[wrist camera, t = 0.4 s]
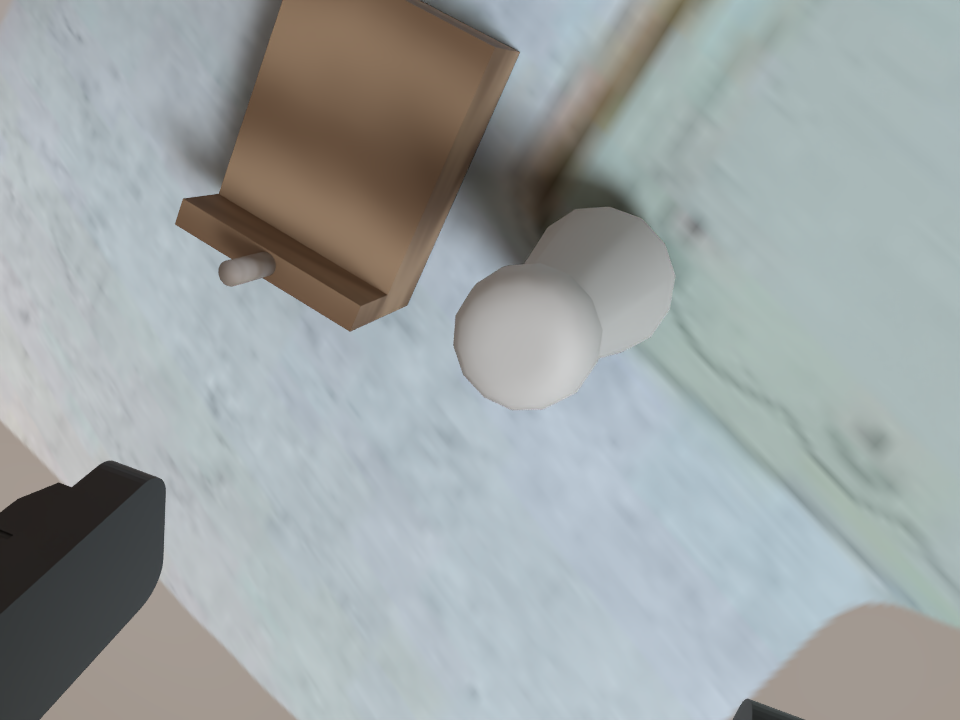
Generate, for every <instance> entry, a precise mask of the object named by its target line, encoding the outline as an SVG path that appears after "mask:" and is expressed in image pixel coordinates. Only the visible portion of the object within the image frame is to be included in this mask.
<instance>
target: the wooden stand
mask: <svg viewBox="0 0 960 720" xmlns="http://www.w3.org/2000/svg"><path fill="white" fill-rule="evenodd" d="M519 53H520V52H518V51H516V50H514V49H512V48H511V47H509V46H507V45H505V44H503V43H501V42H499V41H497V40H495V39H493V38H491V37H489V36H487V35H486V34H484V33H482V32H480V31H478V30H476V29H474V28H472V27H470V26H468V25H466V24H464V23H462V22H460V21H459V20H457V19H455V18H453V17H451V16H449V15H447V14H445V13H443V12H441V11H439V10H437V9H435V8H433V7H432V6H430V5H428V4H426V3H424V2H422V1H420V0H283V1H282V4H281V7H280V10H279V13H278V16H277V19H276V22H275V25H274V28H273V31H272V34H271V37H270V40H269V43H268V46H267V49H266V52H265V55H264V58H263V61H262V64H261V67H260V70H259V73H258V76H257V79H256V83H255V86H254V89H253V92H252V95H251V98H250V101H249V104H248V107H247V110H246V113H245V116H244V119H243V122H242V125H241V128H240V131H239V134H238V137H237V140H236V143H235V146H234V149H233V152H232V155H231V158H230V161H229V164H228V168H227V171H226V174H225V177H224V180H223V183H222V186H221V189H220V192H219V194H215V195H207V196H199V197H192V198H184V199H183V201H182V204H181V207H180V210H179V213H178V216H177V220H176V223H175V225H177V226H179V227H180V228H182V229H184V230H185V231H187V232H188V233H190V234H192V235H193V236H195V237H197V238H198V239H200V240H201V241H203V242H205V243H206V244H208V245H210V246H211V247H213V248H215V249H216V250H218V251H219V252H221V253H223V254H224V255H226V256H228V257H229V258H231V260H227V261H224V262H222V263H221V265H220V267H219V277H220V279H221V281H222V282H223V283H224V284H225V285H227V286H236V285H239V284H243V283H246V282H250V281H253V280H257V279H260V278H263V279H265V280H267V281H268V282H270V283H272V284H273V285H275V286H276V287H278V288H280V289H281V290H283V291H285V292H286V293H288V294H290V295H291V296H293V297H294V298H296V299H298V300H299V301H301V302H303V303H304V304H306V305H307V306H309V307H311V308H312V309H314V310H316V311H317V312H319V313H320V314H322V315H324V316H325V317H327V318H329V319H330V320H332V321H334V322H335V323H337V324H338V325H340V326H342V327H343V328H345V329H347V330H348V331H353V330H355V329H357V328H359V327H361V326H363V325H366V324H368V323H370V322H372V321H374V320H377V319H379V318H381V317H383V316H385V315H387V314H390V313H392V312H394V311H396V310H398V309H400V308H403V307H405V306H407V305H408V302H409V300H410V298H411V296H412V294H413V291H414V289H415V287H416V285H417V282H418V280H419V278H420V276H421V273H422V271H423V269H424V267H425V264H426V262H427V260H428V258H429V255H430V253H431V251H432V249H433V246H434V244H435V242H436V240H437V237H438V235H439V233H440V231H441V228H442V226H443V224H444V222H445V219H446V217H447V215H448V213H449V210H450V208H451V206H452V204H453V202H454V199H455V197H456V195H457V193H458V190H459V188H460V186H461V184H462V181H463V179H464V177H465V175H466V172H467V170H468V168H469V166H470V163H471V161H472V159H473V157H474V154H475V152H476V150H477V148H478V145H479V143H480V141H481V139H482V136H483V134H484V132H485V130H486V127H487V125H488V123H489V121H490V118H491V116H492V114H493V112H494V110H495V107H496V105H497V103H498V101H499V98H500V96H501V94H502V92H503V89H504V87H505V85H506V83H507V80H508V78H509V76H510V74H511V71H512V69H513V67H514V65H515V62H516V60H517V58H518V56H519Z"/></svg>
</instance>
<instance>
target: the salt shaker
mask: <svg viewBox="0 0 960 720" xmlns="http://www.w3.org/2000/svg"><path fill="white" fill-rule="evenodd" d="M674 281H675V273H674V270H673V267H672V264H671V260H670V257H669V254H668V251H667V248H666V245H665V243H664V242H663V241H662V240H661V239H660V238H659V236H658V235H657V234H656V233H655V232H654V231H653V230H652V229H651V227H650V226H649V225H648V224H647V223H646V222H645V221H644V220H643V219H642V218H640V217H637V216H634V215H631V214H628V213H626V212H623V211H620V210H617V209H614V208H612V207H595V208H581V209H575V210H573V211H572V212H570V213H568V214H567V215H565V216H564V217H562V218H561V219H559V220H558V221H556V222H555V223H553V224H552V225H550V226H549V227H548V228H547V229H546V231H545V232H544V234H543V235H542V237H541V238H540V240H539V241H538V243H537V245H536V246H535V248H534V249H533V251H532V252H531V254H530V255H529V257H528V258H527V260H526V261H525V263H524V264H519V265H508V266H504V267H502V268H500V269H499V270H497V271H495V272H494V273H492V274H491V275H489V276H487V277H486V278H484V279H483V280H481V281H480V282H478V283H476V285H475V286H474V287H473V289H472V290H471V291H470V293H469V295H468V296H467V298H466V299H465V301H464V303H463V304H462V306H461V308H460V309H459V311H458V312H457V314H456V318H455V331H454V344H453V346H454V349H455V352H456V355H457V358H458V361H459V364H460V367H461V370H462V373H463V375H464V376H465V377H466V378H467V379H468V380H469V381H470V382H471V384H472V385H473V386H474V387H475V388H476V389H477V390H478V391H479V392H480V393H481V394H482V395H483V396H484V397H485V398H487V399H489V400H491V401H493V402H495V403H498V404H500V405H502V406H504V407H506V408H508V409H510V410H542V409H544V408H547V407H549V406H551V405H553V404H555V403H557V402H559V401H561V400H563V399H565V398H567V397H569V396H571V395H573V394H575V393H577V392H578V390H579V389H580V387H581V386H582V384H583V383H584V381H585V380H586V378H587V377H588V375H589V374H590V372H591V371H592V370H593V368H594V367H595V365H596V364H597V362H598V359H600V358H603V357H607V356H610V355H614V354H618V353H621V352H623V351H625V350H627V349H629V348H631V347H633V346H635V345H637V344H639V343H641V342H643V341H644V340H646V339H648V338H650V337H651V336H652V334H653V333H654V332H655V330H656V329H657V327H658V326H659V325H660V323H661V322H662V320H663V319H664V318H665V316H666V315H667V313H668V312H669V310H670V304H671V299H672V293H673V287H674Z"/></svg>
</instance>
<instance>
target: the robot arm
mask: <svg viewBox="0 0 960 720" xmlns="http://www.w3.org/2000/svg"><path fill="white" fill-rule="evenodd" d="M165 498H166V488H165V484H164V482H163V480H162V479H160V478H158V477H155V476H153V475H150V474H147V473H144V472H142V471H139V470H136V469H134V468H131V467H128V466H126V465H123V464H120V463H117V462H115V461H106V462H104V463H102V464H100V465H99V466H97V467H96V468H95V469H94V470H92V471H91V472H90V473H89V474H88V475H86V476H85V477H84V478H83V479H81V480H80V481H79V482H78V483H77V484H75V485H74V486H73V487H69V486H67V485H64V484H61V483H57V484H54V485H52V486H49V487H47V488H44V489H42V490H39V491H37V492H34V493H32V494H30V495H27V496H24V497H22V498H19V499H17V500H16V501H15V502H13V503H12V504H11V505H9V506H8V507H7V508H5V509H4V510H3V511H2V512H0V720H40V719H41V718H42V716H43V715H44V714H45V713H46V712H47V711H48V710H49V709H50V708H51V707H52V705H53V704H54V703H55V702H56V701H57V700H58V699H59V698H60V697H61V695H62V694H63V693H64V692H65V691H66V690H67V689H68V688H69V687H70V686H71V684H72V683H73V682H74V681H75V680H76V679H77V678H78V677H79V676H80V675H81V673H82V672H83V671H84V670H85V669H86V668H87V667H88V666H89V665H90V664H91V662H92V661H93V660H94V659H95V658H96V657H97V656H98V655H99V654H100V653H101V651H102V650H103V649H104V648H105V647H106V646H107V645H108V644H109V643H110V641H111V640H112V639H113V638H114V637H115V636H116V635H117V634H118V633H119V632H120V631H121V629H122V628H123V627H124V626H125V625H126V624H127V623H128V622H129V621H130V620H131V618H132V617H133V616H134V615H135V614H136V613H137V612H138V610H140V608H141V607H142V606H143V605H144V604H145V603H146V601H147V600H148V598H149V597H150V595H151V593H152V592H153V590H154V588H155V586H156V584H157V581H158V579H159V576H160V573H161V570H162V565H163V552H164V525H165ZM733 720H804V719H801V718H799V717H796V716H793V715H791V714H788V713H785V712H782V711H780V710H777V709H774V708H772V707H769V706H766V705H764V704H761V703H758V702H755V701H753V700H750V699H745V700H744V701H743V702H742V704H741V705H740V707H739V709H738V711H737V713H736V714H735V716H734V718H733Z"/></svg>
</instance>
